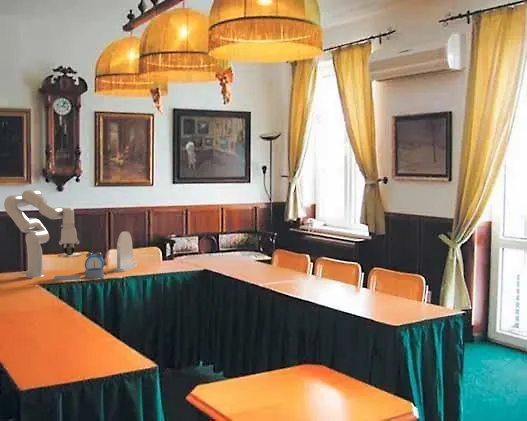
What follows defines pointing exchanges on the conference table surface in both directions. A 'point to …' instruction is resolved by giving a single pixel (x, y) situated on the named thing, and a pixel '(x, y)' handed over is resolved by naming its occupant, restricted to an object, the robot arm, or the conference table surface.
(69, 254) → the lid
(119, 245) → the award
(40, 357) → the conference table surface
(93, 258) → the alarm clock
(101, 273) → the gray square block
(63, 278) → the mat
